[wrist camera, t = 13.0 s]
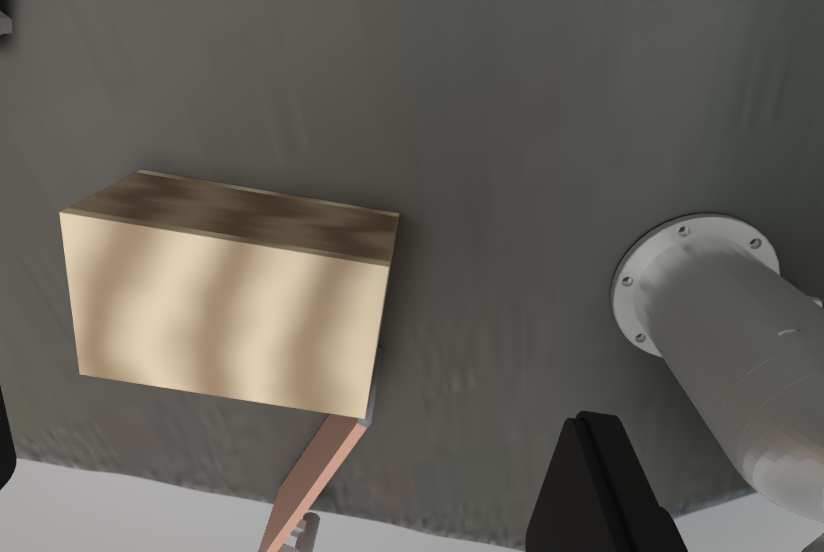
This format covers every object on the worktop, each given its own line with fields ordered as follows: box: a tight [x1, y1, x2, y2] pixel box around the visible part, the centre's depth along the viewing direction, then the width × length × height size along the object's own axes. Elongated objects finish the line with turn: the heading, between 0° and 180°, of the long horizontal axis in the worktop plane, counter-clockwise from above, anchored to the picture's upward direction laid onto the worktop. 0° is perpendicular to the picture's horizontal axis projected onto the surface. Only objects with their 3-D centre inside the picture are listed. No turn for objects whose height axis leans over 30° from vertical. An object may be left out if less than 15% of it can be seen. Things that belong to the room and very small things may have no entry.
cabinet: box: [59, 170, 399, 419], centre depth 40 cm, size 20×12×10 cm, turn 81°
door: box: [258, 347, 383, 552], centre depth 45 cm, size 20×4×15 cm, turn 149°
